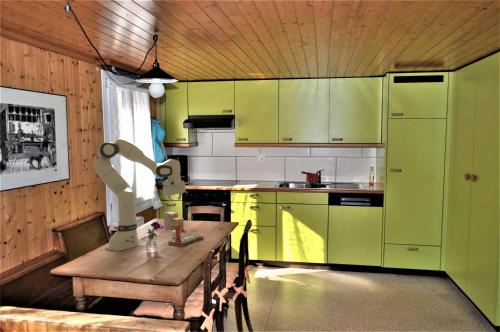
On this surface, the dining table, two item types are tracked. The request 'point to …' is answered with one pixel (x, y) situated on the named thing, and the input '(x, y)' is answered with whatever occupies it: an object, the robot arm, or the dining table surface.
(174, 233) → the die
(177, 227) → the pawn
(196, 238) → the board
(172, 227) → the stack of blocks
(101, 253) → the dining table surface
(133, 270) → the dining table surface
